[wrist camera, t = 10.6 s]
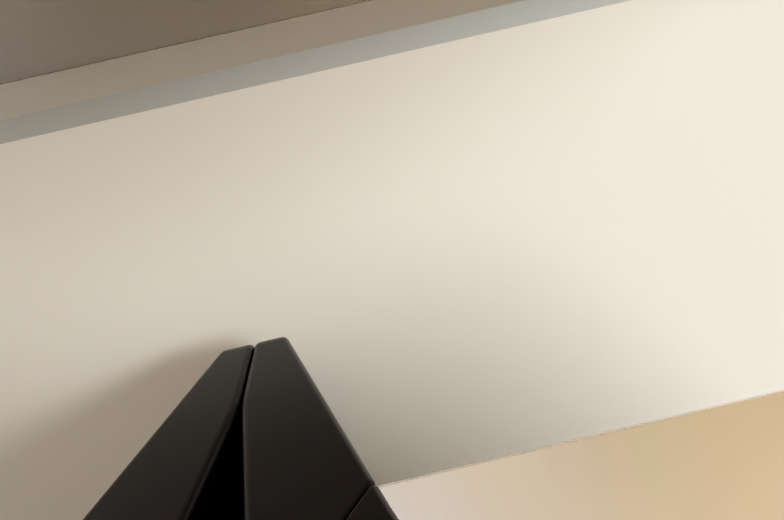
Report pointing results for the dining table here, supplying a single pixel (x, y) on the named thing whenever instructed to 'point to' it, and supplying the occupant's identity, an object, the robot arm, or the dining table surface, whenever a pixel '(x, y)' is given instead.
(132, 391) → the duct cover
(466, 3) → the duct
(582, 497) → the dining table surface
